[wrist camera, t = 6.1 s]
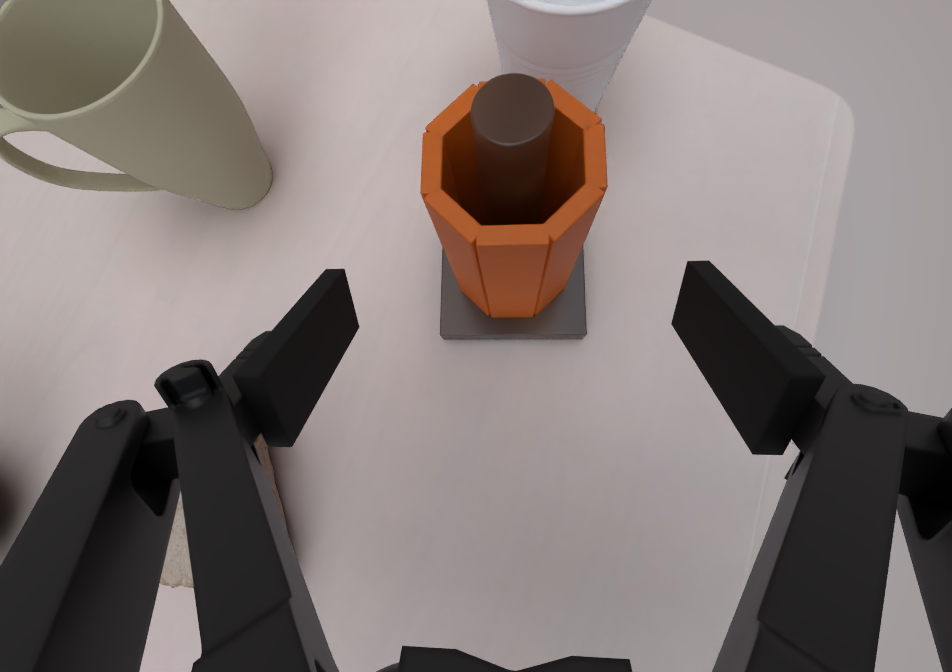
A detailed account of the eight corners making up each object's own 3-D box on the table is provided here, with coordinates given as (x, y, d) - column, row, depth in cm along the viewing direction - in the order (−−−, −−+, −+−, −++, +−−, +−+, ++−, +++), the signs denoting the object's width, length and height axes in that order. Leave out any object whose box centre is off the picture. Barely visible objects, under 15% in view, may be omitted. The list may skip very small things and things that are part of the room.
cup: (652, 104, 29) (738, -83, 18) (545, 190, 28) (567, 51, 17) (559, 20, 30) (585, -193, 20) (457, 99, 30) (427, -76, 19)
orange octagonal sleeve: (564, 214, 26) (602, 73, 15) (567, 317, 25) (611, 242, 14) (459, 217, 27) (424, 83, 16) (457, 317, 25) (417, 247, 14)
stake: (577, 209, 28) (653, -23, 13) (582, 339, 26) (675, 241, 11) (447, 213, 28) (378, -2, 14) (443, 339, 27) (360, 248, 12)
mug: (212, 109, 32) (36, -69, 20) (319, 147, 30) (197, -21, 18) (141, 230, 30) (-95, 115, 18) (250, 277, 29) (69, 183, 17)
